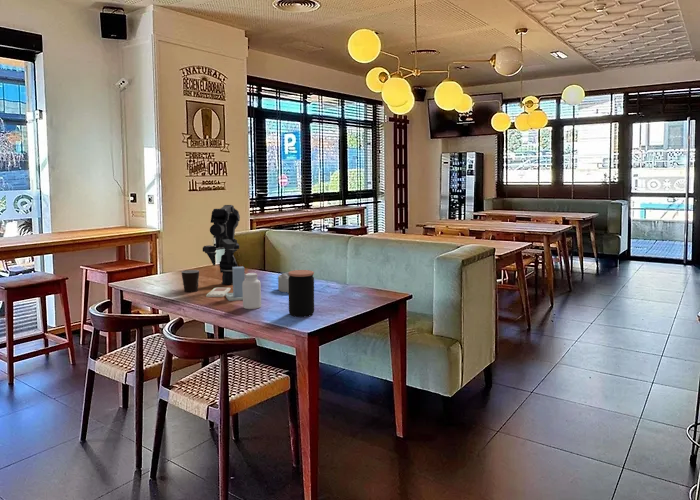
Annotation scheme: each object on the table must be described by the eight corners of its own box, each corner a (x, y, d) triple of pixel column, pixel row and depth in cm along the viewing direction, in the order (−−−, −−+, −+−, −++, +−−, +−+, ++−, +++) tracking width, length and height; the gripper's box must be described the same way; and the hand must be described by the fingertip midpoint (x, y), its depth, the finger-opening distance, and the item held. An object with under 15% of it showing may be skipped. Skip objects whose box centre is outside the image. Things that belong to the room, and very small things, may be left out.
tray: (225, 295, 269) (225, 293, 269) (249, 294, 273) (249, 291, 273) (228, 300, 258) (228, 298, 258) (253, 299, 262) (253, 296, 262)
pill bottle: (243, 305, 250) (242, 272, 248) (261, 304, 251) (261, 272, 248) (241, 309, 242) (241, 275, 240) (260, 309, 243) (259, 275, 241)
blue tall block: (233, 295, 267) (232, 266, 265) (243, 294, 268) (242, 266, 266) (234, 297, 262) (233, 268, 260) (245, 296, 264) (244, 267, 262)
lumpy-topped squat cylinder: (292, 293, 274) (291, 276, 273) (273, 290, 282) (272, 273, 281) (306, 290, 282) (306, 273, 281) (287, 286, 290) (287, 270, 289)
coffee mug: (195, 293, 274) (194, 273, 273) (178, 292, 276) (178, 272, 275) (205, 288, 286) (204, 269, 284) (190, 287, 287) (189, 268, 286)
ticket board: (214, 289, 283) (214, 287, 283) (230, 289, 283) (230, 287, 282) (206, 296, 266) (206, 294, 266) (223, 296, 266) (222, 294, 266)
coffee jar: (299, 309, 242) (299, 269, 240) (319, 313, 236) (319, 271, 234) (283, 314, 234) (282, 272, 231) (303, 318, 228) (302, 275, 225)
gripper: (215, 236, 266) (216, 268, 269) (245, 233, 280) (246, 263, 283) (201, 234, 273) (202, 266, 276) (232, 231, 288) (232, 261, 290)
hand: (221, 264), depth 281 cm, fingers open, 9 cm apart
